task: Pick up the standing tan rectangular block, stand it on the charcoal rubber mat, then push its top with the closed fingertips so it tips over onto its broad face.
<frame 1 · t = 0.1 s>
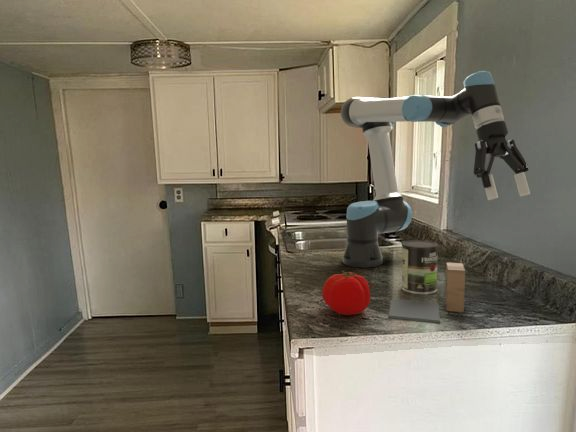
hand: (509, 197, 104), 28 cm above the countertop, tool tilted 20°, fingers open, 13 cm apart
tomato: (346, 312, 100), on the countertop
coffee can: (419, 289, 115), on the countertop
tan rectangular block: (454, 306, 101), on the countertop
rubber mat: (414, 310, 98), on the countertop
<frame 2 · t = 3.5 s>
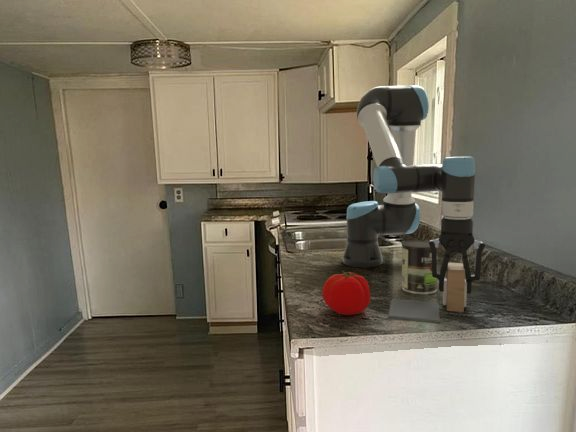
hand: (454, 303, 101), 1 cm above the countertop, tool pointing down, fingers closed on tan rectangular block, 4 cm apart
tan rectangular block: (454, 306, 101), on the countertop, touching gripper
everything else where it was.
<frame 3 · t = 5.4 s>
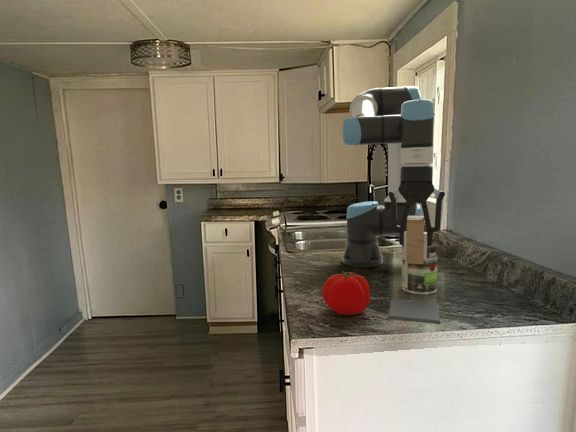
hand: (415, 257, 96), 14 cm above the countertop, tool pointing down, fingers closed on tan rectangular block, 4 cm apart
tan rectangular block: (415, 260, 96), point 14 cm above the countertop, touching gripper
everything else where it was.
when the fingers open (2 cm above the countertop, at t = 7.8 s): tan rectangular block stays where it is, resting on rubber mat.
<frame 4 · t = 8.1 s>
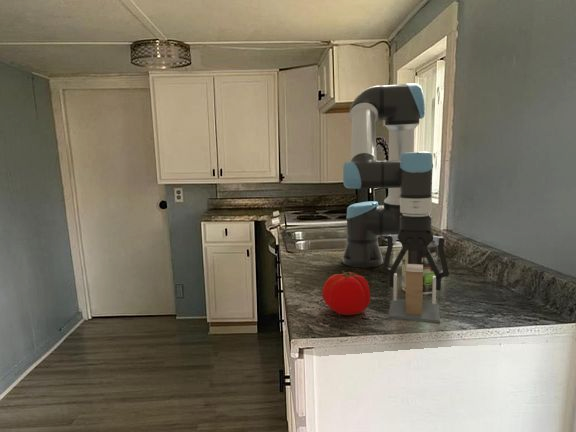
hand: (414, 300, 98), 3 cm above the countertop, tool pointing down, fingers open, 9 cm apart
tan rectangular block: (414, 308, 98), point 1 cm above the countertop, touching rubber mat
everything else where it was.
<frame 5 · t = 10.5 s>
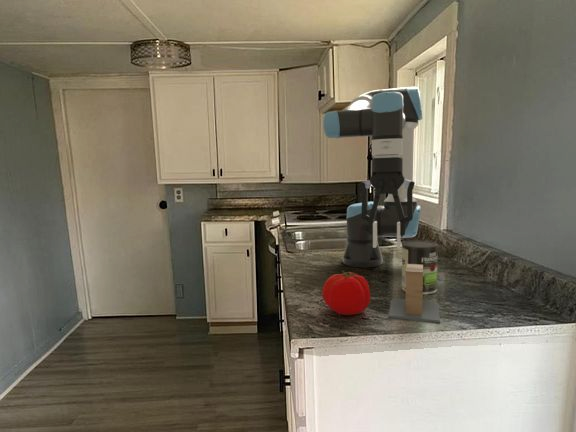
hand: (386, 246, 98), 17 cm above the countertop, tool pointing down, fingers open, 5 cm apart
nothing on the countertop moved.
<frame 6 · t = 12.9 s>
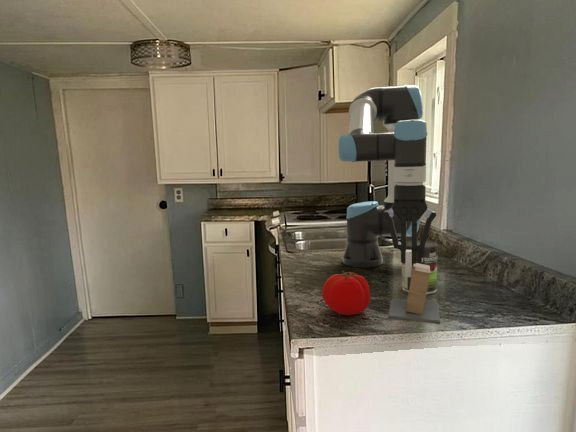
hand: (408, 275, 97), 10 cm above the countertop, tool pointing down, fingers closed
tan rectangular block: (414, 307, 98), point 1 cm above the countertop, tilted 9°, touching rubber mat
everything else where it was.
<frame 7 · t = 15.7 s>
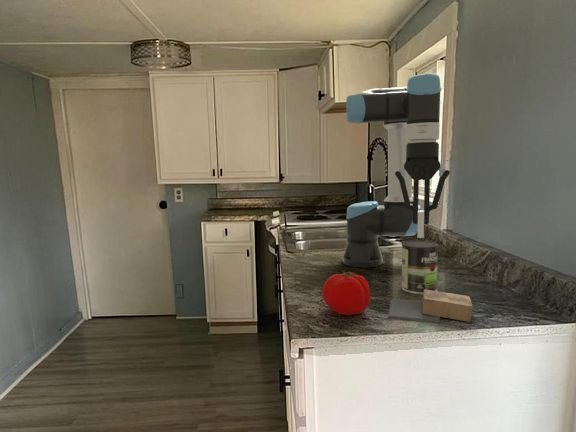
hand: (420, 236, 96), 20 cm above the countertop, tool pointing down, fingers closed
tan rectangular block: (423, 301, 97), point 3 cm above the countertop, tilted 95°, touching rubber mat
everything else where it was.
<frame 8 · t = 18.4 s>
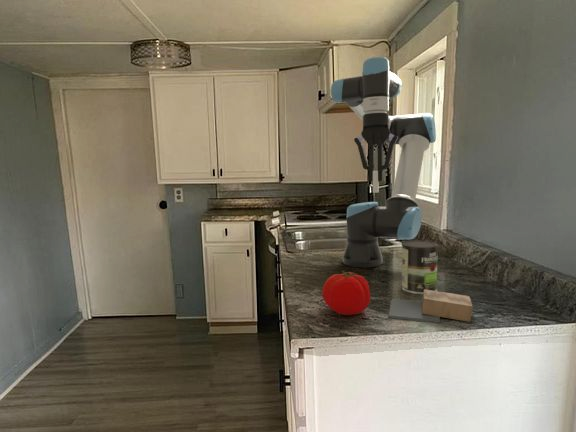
hand: (375, 192, 116), 29 cm above the countertop, tool pointing down, fingers closed
nothing on the countertop moved.
at the end: tan rectangular block tilted 95°; tan rectangular block inside the target area (3.9 cm from its centre), point 2.9 cm above the countertop; the gripper is holding nothing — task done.
